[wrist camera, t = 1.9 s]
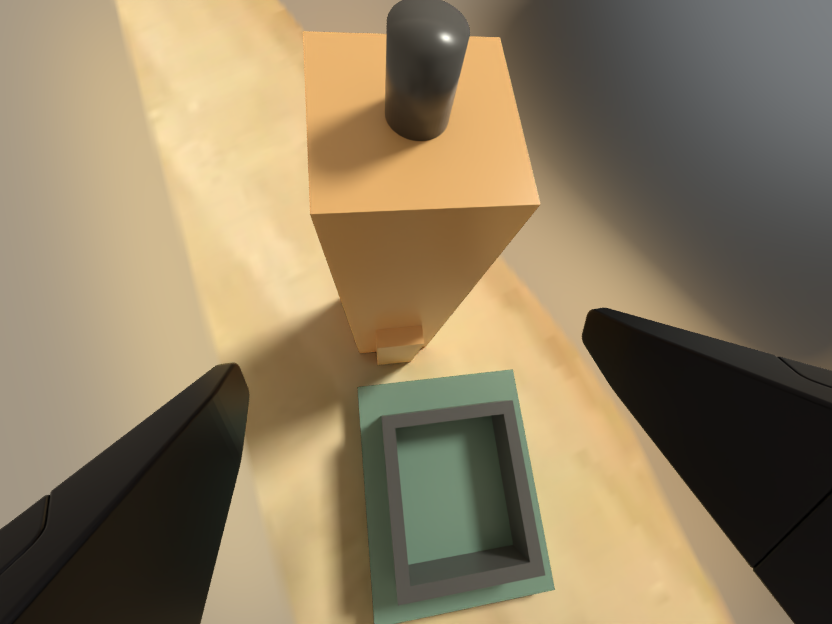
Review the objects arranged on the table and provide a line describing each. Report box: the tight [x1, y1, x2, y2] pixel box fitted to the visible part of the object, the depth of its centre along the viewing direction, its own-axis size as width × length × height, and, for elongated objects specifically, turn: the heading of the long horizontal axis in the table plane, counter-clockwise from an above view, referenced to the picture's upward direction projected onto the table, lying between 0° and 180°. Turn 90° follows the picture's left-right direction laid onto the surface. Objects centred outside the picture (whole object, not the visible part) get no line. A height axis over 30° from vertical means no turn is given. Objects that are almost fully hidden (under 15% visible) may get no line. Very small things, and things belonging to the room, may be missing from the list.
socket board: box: [358, 369, 555, 624], centre depth 17 cm, size 11×9×3 cm
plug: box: [303, 0, 540, 365], centre depth 13 cm, size 5×4×16 cm
